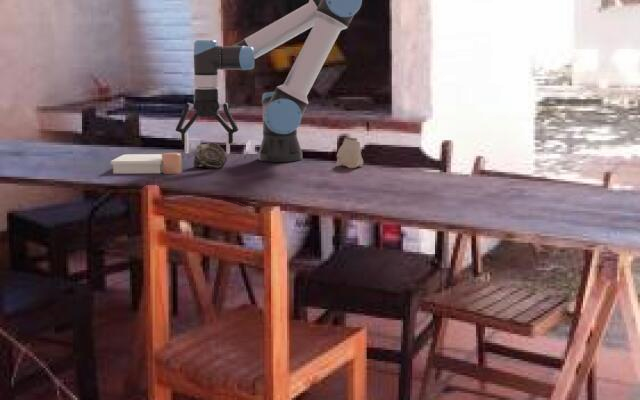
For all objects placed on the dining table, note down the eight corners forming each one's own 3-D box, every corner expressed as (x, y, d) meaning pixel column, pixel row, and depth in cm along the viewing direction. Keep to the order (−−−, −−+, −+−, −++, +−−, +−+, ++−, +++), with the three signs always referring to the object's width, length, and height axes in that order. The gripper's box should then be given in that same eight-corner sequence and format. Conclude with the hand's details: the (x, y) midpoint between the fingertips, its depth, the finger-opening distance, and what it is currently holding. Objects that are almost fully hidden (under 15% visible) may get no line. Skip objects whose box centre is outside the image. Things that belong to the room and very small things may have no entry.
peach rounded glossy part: (183, 171, 296) (182, 152, 295) (179, 174, 290) (178, 155, 289) (164, 171, 296) (164, 152, 295) (160, 174, 290) (159, 155, 289)
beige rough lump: (362, 173, 300) (370, 143, 301) (354, 167, 294) (362, 137, 295) (338, 168, 304) (345, 139, 305) (329, 162, 297) (337, 133, 298)
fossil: (211, 169, 295) (198, 140, 296) (193, 180, 301) (181, 152, 302) (233, 163, 304) (221, 136, 305) (216, 174, 310) (204, 147, 310)
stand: (171, 165, 307) (171, 154, 306) (161, 173, 291) (160, 160, 290) (124, 166, 308) (123, 154, 307) (111, 173, 292) (110, 161, 291)
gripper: (246, 87, 302) (246, 152, 305) (170, 87, 303) (172, 151, 307) (243, 89, 294) (243, 155, 298) (165, 88, 295) (167, 154, 299)
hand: (207, 153), depth 302 cm, fingers open, 13 cm apart
